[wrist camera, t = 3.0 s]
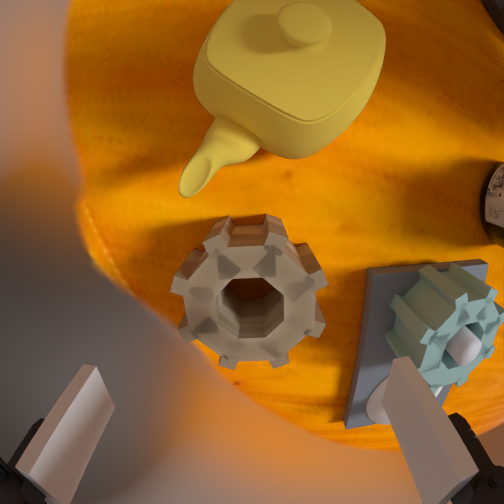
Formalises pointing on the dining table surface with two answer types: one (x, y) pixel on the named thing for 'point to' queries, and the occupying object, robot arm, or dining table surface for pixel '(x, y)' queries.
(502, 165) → the ink bottle
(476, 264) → the gear board
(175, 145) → the dining table surface
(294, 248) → the birch gear
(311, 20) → the teapot
